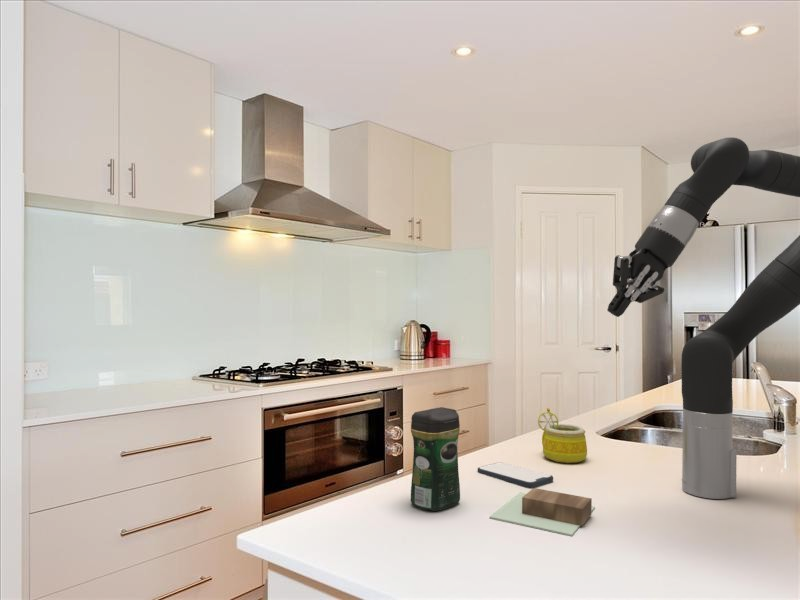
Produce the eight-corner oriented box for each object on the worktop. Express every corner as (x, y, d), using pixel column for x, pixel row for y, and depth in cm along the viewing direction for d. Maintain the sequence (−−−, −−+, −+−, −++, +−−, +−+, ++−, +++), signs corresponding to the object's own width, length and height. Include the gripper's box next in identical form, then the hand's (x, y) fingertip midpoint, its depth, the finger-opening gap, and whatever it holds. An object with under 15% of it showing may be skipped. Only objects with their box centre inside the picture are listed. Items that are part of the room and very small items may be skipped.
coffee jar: (436, 493, 120) (437, 403, 120) (466, 503, 114) (467, 408, 114) (402, 504, 113) (403, 408, 113) (432, 515, 107) (433, 414, 107)
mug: (596, 461, 146) (597, 413, 146) (567, 467, 139) (568, 417, 139) (556, 449, 156) (556, 405, 156) (527, 455, 150) (528, 409, 150)
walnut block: (591, 498, 108) (533, 487, 114) (582, 508, 102) (522, 497, 108) (591, 514, 108) (533, 503, 114) (582, 526, 102) (522, 513, 108)
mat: (594, 508, 112) (595, 506, 112) (572, 536, 98) (572, 534, 98) (520, 493, 120) (520, 492, 120) (489, 518, 106) (489, 516, 106)
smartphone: (474, 474, 135) (530, 491, 123) (474, 467, 135) (530, 483, 123) (500, 468, 141) (555, 483, 129) (499, 461, 141) (555, 475, 129)
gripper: (660, 220, 101) (603, 303, 103) (702, 258, 107) (647, 336, 108) (631, 213, 108) (577, 291, 109) (671, 249, 114) (620, 323, 115)
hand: (612, 313), depth 109 cm, fingers closed
